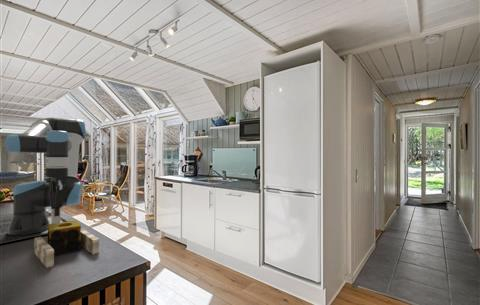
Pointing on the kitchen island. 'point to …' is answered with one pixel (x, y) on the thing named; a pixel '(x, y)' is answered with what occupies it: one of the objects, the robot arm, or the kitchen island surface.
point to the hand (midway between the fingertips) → (55, 223)
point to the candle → (64, 237)
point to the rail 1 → (44, 252)
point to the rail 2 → (89, 242)
